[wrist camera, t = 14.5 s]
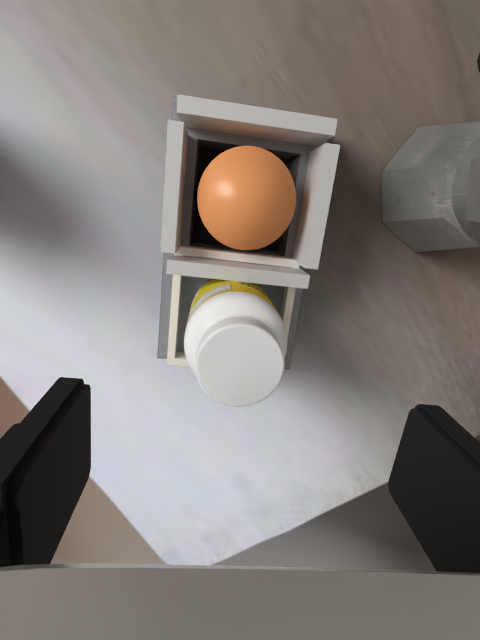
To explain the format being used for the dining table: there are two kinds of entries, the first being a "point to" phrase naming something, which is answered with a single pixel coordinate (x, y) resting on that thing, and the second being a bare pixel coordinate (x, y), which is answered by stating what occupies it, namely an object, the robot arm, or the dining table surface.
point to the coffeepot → (435, 188)
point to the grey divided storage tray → (225, 262)
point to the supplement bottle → (235, 342)
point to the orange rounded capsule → (246, 198)
